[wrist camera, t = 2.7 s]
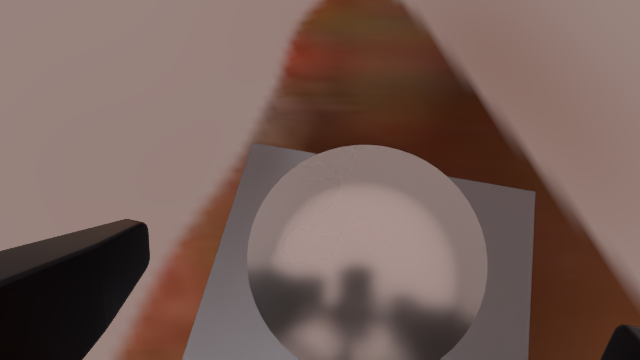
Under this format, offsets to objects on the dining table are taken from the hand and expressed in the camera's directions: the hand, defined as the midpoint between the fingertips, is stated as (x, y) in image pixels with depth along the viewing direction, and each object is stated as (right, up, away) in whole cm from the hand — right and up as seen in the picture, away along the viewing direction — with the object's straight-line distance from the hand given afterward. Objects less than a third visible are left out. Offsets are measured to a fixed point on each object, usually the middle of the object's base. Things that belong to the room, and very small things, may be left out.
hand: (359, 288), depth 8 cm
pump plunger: (+1, -2, +6) cm, 7 cm away
